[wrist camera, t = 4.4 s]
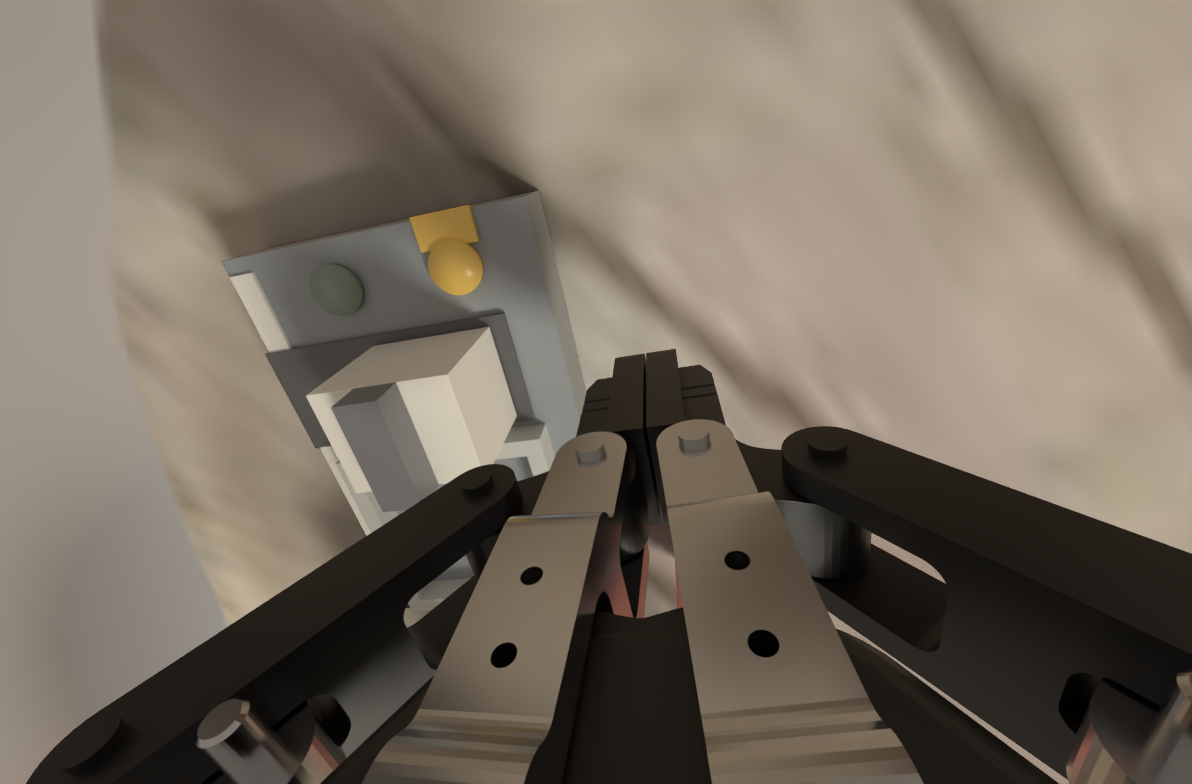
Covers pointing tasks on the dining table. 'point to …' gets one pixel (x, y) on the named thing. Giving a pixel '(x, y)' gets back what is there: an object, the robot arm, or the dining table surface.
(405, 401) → the toggle
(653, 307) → the dining table surface
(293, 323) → the panel
